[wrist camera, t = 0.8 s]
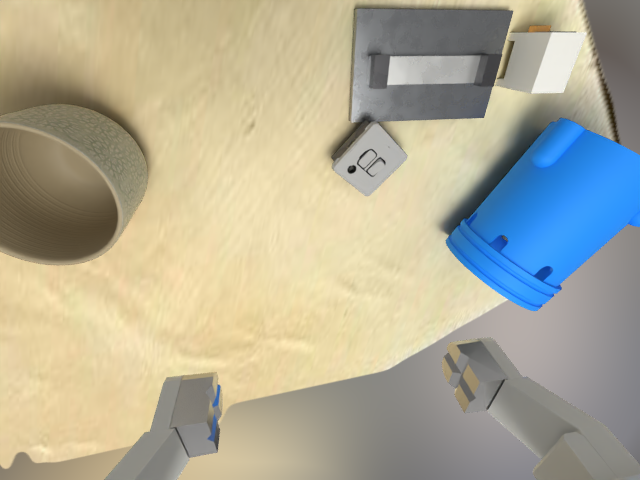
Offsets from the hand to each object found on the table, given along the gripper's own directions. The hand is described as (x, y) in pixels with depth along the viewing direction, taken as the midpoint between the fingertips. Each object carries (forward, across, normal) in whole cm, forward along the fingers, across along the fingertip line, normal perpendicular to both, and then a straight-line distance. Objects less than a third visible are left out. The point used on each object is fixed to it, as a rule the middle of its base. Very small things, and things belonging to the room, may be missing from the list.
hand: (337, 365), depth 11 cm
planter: (+44, +27, +6) cm, 52 cm away
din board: (+44, -22, -6) cm, 49 cm away
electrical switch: (+43, -11, +10) cm, 46 cm away
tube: (+44, -43, +16) cm, 64 cm away
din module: (+44, -37, -7) cm, 57 cm away
